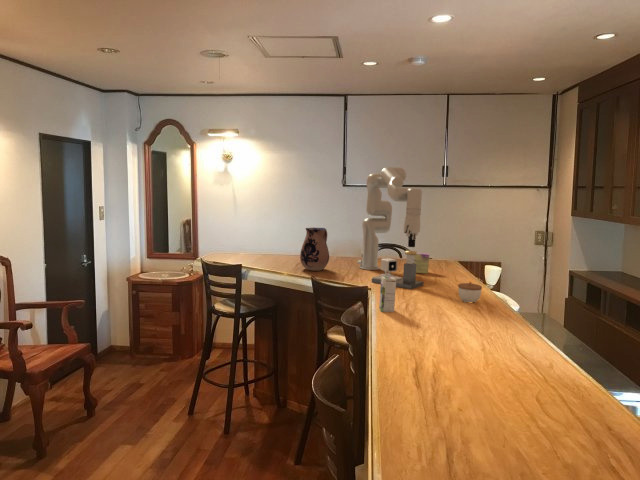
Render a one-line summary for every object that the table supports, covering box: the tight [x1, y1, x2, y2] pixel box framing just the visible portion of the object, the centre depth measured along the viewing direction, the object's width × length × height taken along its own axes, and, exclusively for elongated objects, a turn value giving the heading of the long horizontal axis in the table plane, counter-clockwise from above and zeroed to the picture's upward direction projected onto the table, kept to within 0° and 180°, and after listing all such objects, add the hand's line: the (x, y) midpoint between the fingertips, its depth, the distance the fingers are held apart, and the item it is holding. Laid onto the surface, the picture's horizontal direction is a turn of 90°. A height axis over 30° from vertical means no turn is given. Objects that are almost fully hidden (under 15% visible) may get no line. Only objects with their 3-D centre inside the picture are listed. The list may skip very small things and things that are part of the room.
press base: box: [371, 262, 424, 290], centre depth 280 cm, size 24×14×12 cm, turn 53°
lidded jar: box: [457, 281, 483, 303], centre depth 246 cm, size 11×11×9 cm
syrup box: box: [378, 276, 397, 313], centre depth 224 cm, size 6×6×14 cm
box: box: [414, 252, 430, 274], centre depth 316 cm, size 10×6×12 cm, turn 84°
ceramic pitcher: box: [299, 227, 330, 272], centre depth 313 cm, size 18×21×25 cm
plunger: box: [404, 250, 418, 264], centre depth 275 cm, size 6×6×12 cm
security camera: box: [380, 257, 398, 277], centre depth 284 cm, size 6×7×10 cm
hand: (411, 246), depth 274 cm, fingers closed
